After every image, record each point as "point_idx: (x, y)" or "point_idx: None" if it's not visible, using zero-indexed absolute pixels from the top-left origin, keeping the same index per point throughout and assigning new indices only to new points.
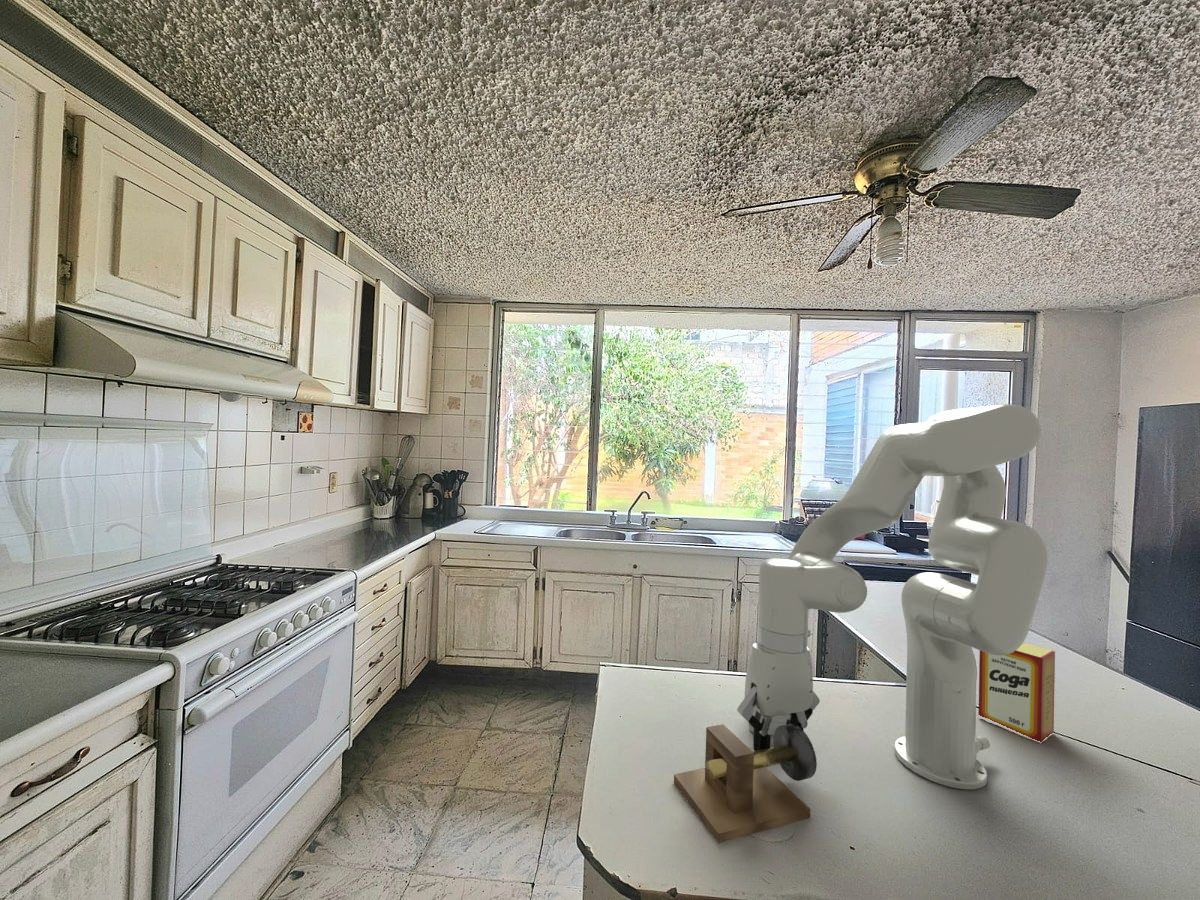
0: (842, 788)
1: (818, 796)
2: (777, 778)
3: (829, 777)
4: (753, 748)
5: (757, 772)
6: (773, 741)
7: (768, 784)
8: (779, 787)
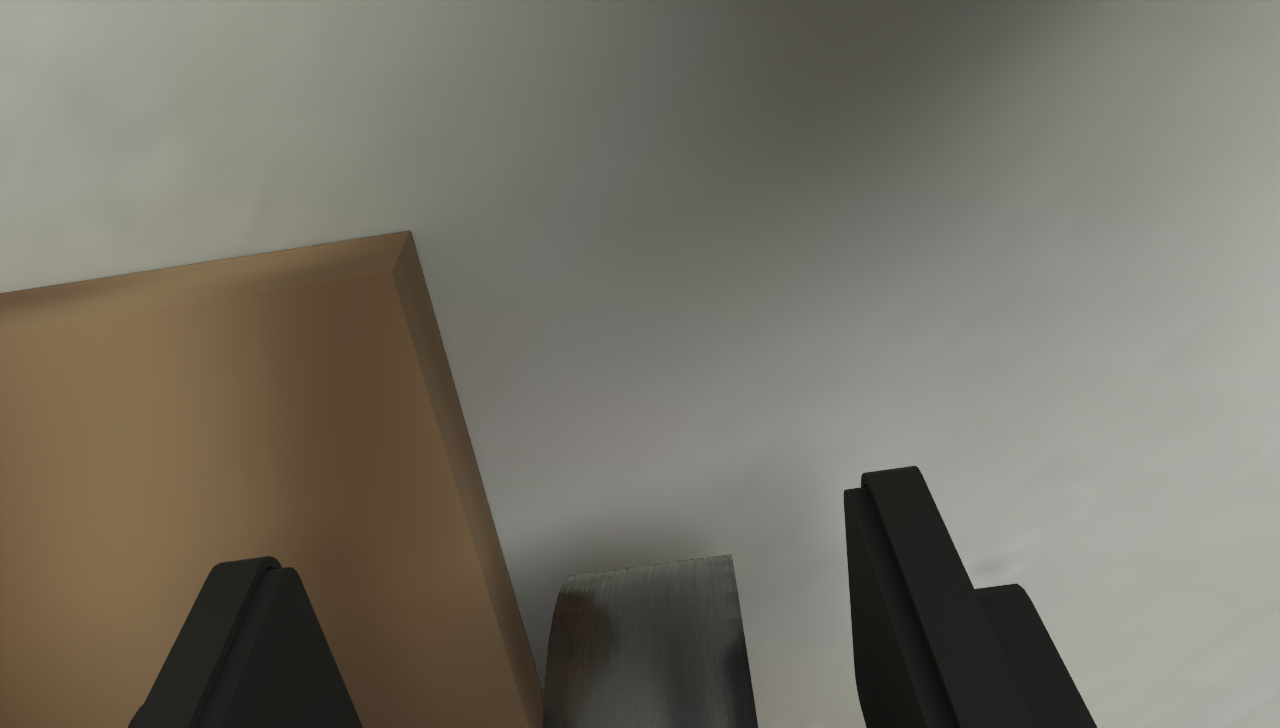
0: (1130, 643)
1: (820, 694)
2: (489, 629)
3: (1150, 515)
4: (211, 571)
5: (298, 529)
6: (551, 647)
7: (346, 684)
8: (442, 725)
